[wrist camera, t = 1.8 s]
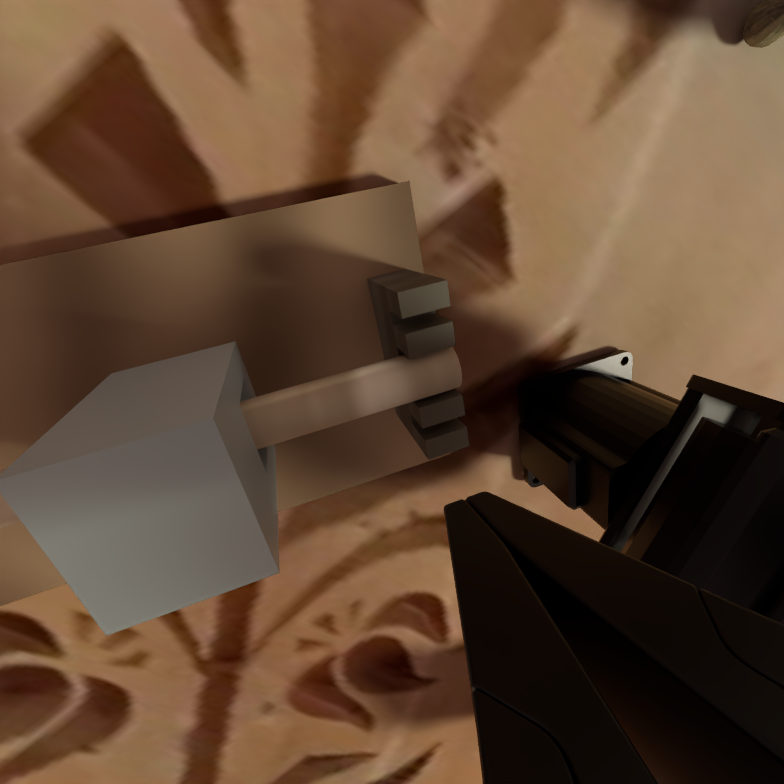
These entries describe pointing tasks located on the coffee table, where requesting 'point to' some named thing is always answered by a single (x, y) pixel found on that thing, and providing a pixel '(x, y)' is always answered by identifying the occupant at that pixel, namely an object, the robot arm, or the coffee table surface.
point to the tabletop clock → (765, 23)
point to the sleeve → (153, 490)
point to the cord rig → (245, 343)
